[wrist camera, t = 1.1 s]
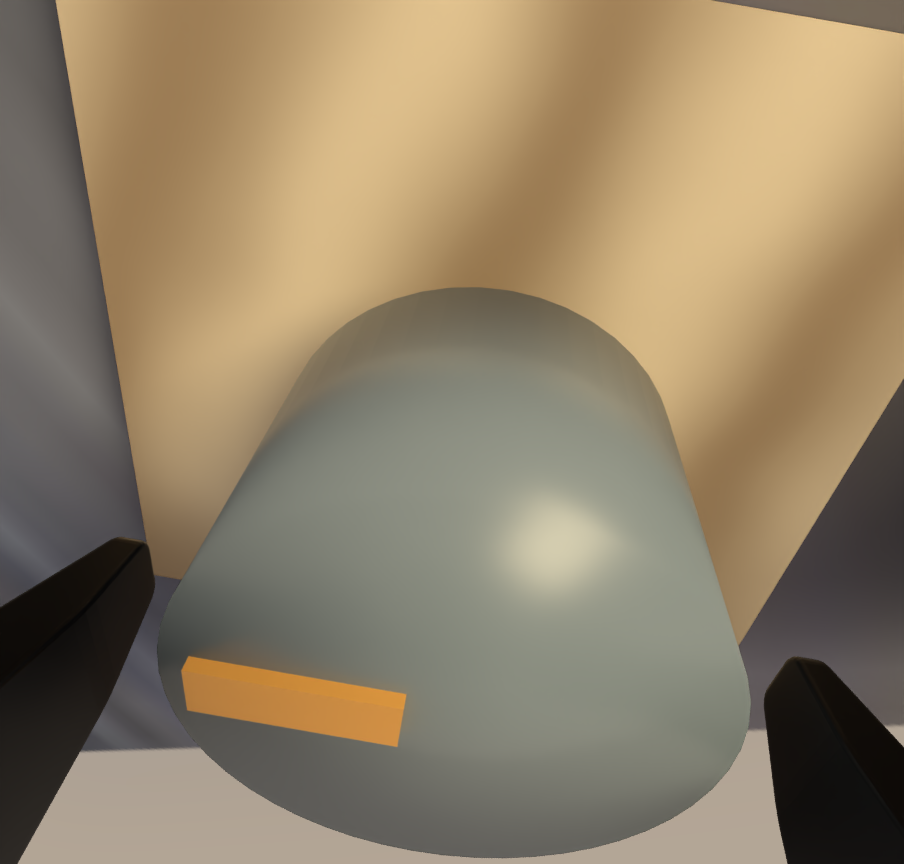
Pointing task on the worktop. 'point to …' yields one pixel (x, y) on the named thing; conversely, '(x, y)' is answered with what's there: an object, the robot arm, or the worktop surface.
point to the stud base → (501, 222)
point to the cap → (463, 592)
